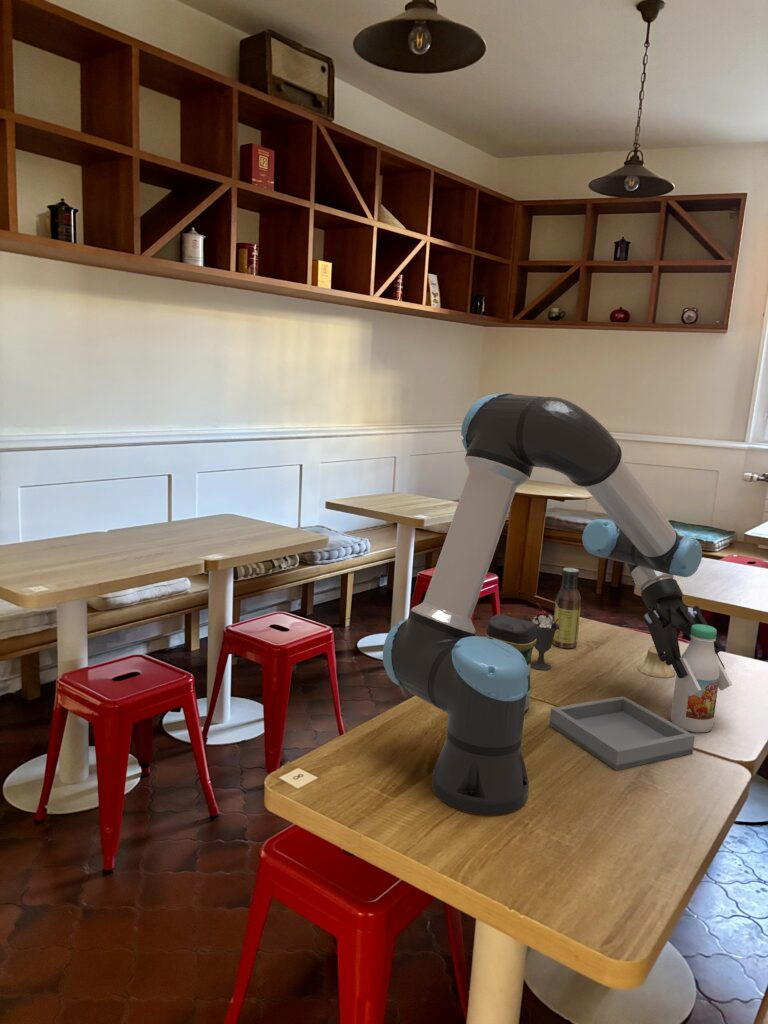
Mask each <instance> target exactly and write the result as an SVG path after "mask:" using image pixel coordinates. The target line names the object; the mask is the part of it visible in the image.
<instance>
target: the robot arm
mask: <svg viewBox="0 0 768 1024" xmlns="http://www.w3.org/2000/svg"><path fill="white" fill-rule="evenodd" d="M460 431H461V433H460V436H462V437H463V439H462V440H461V443H462V446H463V448H464V449H465V451H466V454H465V456H464V462H465V464H466V466H467V468H468V475H467V477H466V480H465V483H464V485H463V488H462V491H461V495H460V496H459V500H458V503H457V506H456V508H455V511H454V514H453V516H452V520H451V523H450V526H449V529H448V531H447V534H446V536H445V539H444V543H443V545H442V548H441V550H440V554H439V556H438V559H437V563H436V566H435V567H434V571H433V574H432V575H431V576H432V577H431V579H430V581H429V584H428V587H427V590H426V593H425V596H424V599H423V601H422V602H421V603H420V604H418V605H415V606H413V607H412V608H411V609H410V612H409V614H408V618H404V619H401V620H400V621H398V622H397V623H396V625H395V626H392V627H391V629H390V630H389V631H388V633H387V635H386V638H385V639H384V644H383V648H382V663H383V667H384V669H385V672H386V675H387V677H388V678H389V679H390V680H391V681H392V683H394V684H395V685H397V686H398V687H400V688H401V689H402V690H403V691H404V692H406V693H407V694H410V695H414V696H416V697H418V698H419V699H421V700H423V702H426V703H428V704H430V705H432V706H434V707H435V708H437V709H439V710H441V711H443V712H445V713H447V716H448V717H447V725H446V726H447V727H446V738H445V741H444V743H443V746H442V749H441V751H440V753H439V756H438V758H437V760H436V763H435V764H434V766H433V769H432V777H431V779H432V780H431V787H432V788H431V789H432V790H433V792H434V794H435V795H436V797H438V799H440V800H441V801H442V802H444V803H445V804H447V805H448V806H449V807H452V808H454V809H456V810H459V811H462V812H465V813H469V814H475V815H480V816H500V815H506V814H509V813H513V812H516V811H517V810H519V809H520V808H522V807H523V806H524V805H526V803H527V800H528V796H529V787H530V783H529V777H528V773H527V768H526V764H525V759H524V756H523V753H522V752H523V751H522V739H523V738H522V737H523V730H524V720H525V712H526V711H525V704H526V695H527V690H528V679H527V673H528V667H527V662H526V660H525V658H524V656H523V655H522V654H521V653H520V652H519V651H518V650H517V649H516V648H514V647H513V646H511V645H509V644H507V643H505V642H503V641H500V640H497V639H489V638H488V637H486V636H480V635H478V636H477V635H476V633H477V631H476V629H475V626H474V624H473V621H472V618H473V614H474V611H475V609H476V606H477V603H478V600H479V598H480V595H481V591H482V589H483V586H484V583H485V580H486V578H487V575H488V571H489V569H490V567H491V563H492V561H493V557H494V556H495V555H494V554H495V551H496V549H497V546H498V543H499V540H500V537H501V534H502V531H503V528H504V526H505V522H506V520H507V517H508V515H509V512H510V510H511V509H510V508H511V505H512V502H513V499H514V496H515V495H516V491H517V489H518V487H520V486H521V485H524V484H526V483H528V482H529V480H530V479H531V476H532V473H533V469H534V467H536V468H543V469H548V470H552V471H555V472H558V473H561V474H562V475H564V476H566V477H567V478H568V479H569V480H570V481H571V483H573V484H574V485H576V486H577V487H580V488H585V489H586V491H587V492H588V493H589V494H590V495H591V496H592V498H593V499H594V500H595V501H596V503H598V505H599V506H600V507H601V509H602V510H604V512H605V513H606V514H607V515H608V516H609V518H610V519H611V520H610V519H605V518H604V519H602V518H597V519H593V520H591V521H589V523H587V525H586V526H585V528H584V529H583V532H582V538H581V539H582V545H583V547H584V549H585V550H586V552H588V553H589V554H590V555H593V556H595V557H597V558H601V559H603V558H604V559H609V560H612V561H617V562H620V563H625V566H626V568H627V569H628V571H629V574H630V575H631V577H632V580H633V582H634V583H635V586H636V587H637V589H638V591H639V592H640V593H641V594H640V595H641V598H642V601H643V602H644V604H645V607H646V608H647V609H648V610H649V611H648V612H647V613H645V614H644V615H643V616H642V620H643V622H644V623H645V625H646V626H647V628H648V631H649V634H650V637H651V640H652V642H653V646H655V648H656V651H657V653H658V656H659V659H660V660H661V661H662V662H664V661H666V662H665V663H666V664H667V665H668V666H669V665H670V666H671V667H672V669H673V670H674V672H675V675H676V674H677V676H678V677H679V679H681V681H682V683H683V685H684V687H685V689H686V691H687V693H688V695H689V696H692V695H694V694H696V693H697V692H699V691H701V688H700V686H699V684H698V682H697V680H696V678H695V676H694V674H693V672H692V670H691V668H690V666H689V664H688V662H687V660H686V658H682V659H681V660H680V658H681V656H682V654H681V650H680V649H681V648H680V645H679V644H680V643H679V638H678V632H677V629H679V631H680V632H681V633H684V634H685V635H686V636H687V637H688V639H689V640H691V637H690V635H691V627H692V625H695V624H702V625H708V626H710V625H709V623H708V622H707V621H706V619H705V617H704V616H703V613H702V611H701V609H700V607H699V606H698V605H694V606H693V607H691V606H690V607H688V605H687V604H686V603H685V602H684V601H683V595H684V593H683V591H682V589H681V587H680V586H679V583H678V581H677V580H676V579H675V578H674V576H677V577H682V578H688V577H691V576H693V575H694V574H696V572H697V570H698V569H699V566H700V565H701V562H702V558H703V548H702V545H701V543H700V542H699V540H697V539H695V538H691V537H689V536H687V535H684V536H683V535H681V534H679V533H678V532H677V531H676V530H675V528H674V527H673V526H672V524H671V522H670V521H669V520H668V519H667V517H666V516H665V515H664V513H663V512H662V510H661V509H660V507H658V505H657V504H656V502H655V501H654V500H653V498H652V497H651V496H650V494H648V492H647V491H646V489H645V488H644V487H643V486H642V484H641V483H640V481H639V480H638V479H637V478H636V476H635V475H634V474H633V472H632V470H631V469H630V468H629V467H628V466H627V464H626V463H625V461H624V460H623V450H622V448H621V446H620V444H619V443H618V442H617V440H616V439H615V438H614V436H612V434H611V433H610V432H609V430H607V429H606V427H605V426H604V425H603V424H601V422H599V421H598V420H597V419H596V418H595V417H594V416H593V415H591V414H590V413H589V412H587V411H586V410H585V409H583V408H581V406H579V405H577V404H575V403H573V402H571V401H569V400H567V399H564V398H562V397H557V396H539V395H538V396H537V395H525V394H513V393H511V392H510V393H507V392H504V393H503V392H502V393H497V394H496V393H495V394H493V393H492V394H488V395H487V394H486V395H485V396H483V397H481V398H479V399H477V400H476V401H475V402H474V403H473V404H472V405H470V408H469V409H468V410H467V412H466V414H465V416H464V417H463V421H462V423H461V430H460ZM714 650H715V654H716V657H717V660H718V663H719V684H718V690H719V691H724V690H725V689H727V688H729V687H731V686H732V685H733V682H732V681H731V679H730V677H729V676H728V673H727V671H726V670H725V669H726V668H725V665H724V663H723V662H722V660H721V658H720V656H719V653H720V652H721V651H722V650H724V647H723V645H722V643H721V642H720V639H718V637H717V636H716V641H714ZM664 652H665V653H664Z"/></svg>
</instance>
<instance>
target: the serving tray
mask: <svg viewBox="0 0 768 1024" xmlns="http://www.w3.org/2000/svg"><path fill="white" fill-rule="evenodd" d="M549 726H550V728H551V727H552V728H553V729H555V730H556V731H557V732H558V733H560V734H561V735H563V736H564V737H566V738H567V739H569V740H570V741H572V742H573V743H574V744H576V745H577V746H579V747H581V748H582V749H584V750H585V752H586V751H587V752H588V753H589V754H591V755H592V756H593V757H595V758H596V759H598V760H599V761H601V762H602V763H604V764H606V765H607V766H608V767H609V768H611V769H612V770H614V771H615V772H616V771H617V772H618V771H620V770H625V769H631V768H635V767H639V766H644V765H648V764H652V763H657V762H661V761H666V760H670V759H675V758H680V757H683V756H688V755H693V754H694V753H693V752H694V746H695V745H694V744H695V738H696V735H695V734H693V733H691V732H690V731H687V730H684V729H682V728H680V727H678V726H677V725H675V724H673V723H672V721H669V719H666V718H664V717H662V716H660V715H659V714H657V713H655V712H653V711H651V710H650V709H648V708H645V707H644V706H642V705H640V704H639V703H637V702H636V701H633V700H632V699H630V698H628V697H626V696H624V695H622V696H616V697H609V698H604V699H597V700H592V701H586V702H580V703H573V704H569V705H568V704H567V705H563V706H555V707H551V708H550V718H549Z"/></svg>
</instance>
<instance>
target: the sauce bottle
mask: <svg viewBox="0 0 768 1024" xmlns="http://www.w3.org/2000/svg"><path fill="white" fill-rule="evenodd" d="M561 574H562V579H561V586H560V588H559V589H558V593H557V594H556V596H555V601H554V614H553V622H555V621H556V620H557V619H558V621H557V622H556V623H557V624H558V625H559V628H560V629H558V630H556V631H555V634H554V638H553V643H552V645H554V646H555V647H558V648H561V649H565V648H566V649H567V650H568V649H574V648H576V647H577V644H578V642H577V641H578V640H579V629H580V619H581V617H580V616H581V602H582V597H581V596H582V595H581V594H580V591H579V589H578V579H579V576H580V570H579V569H577V568H574V567H564V568H562V572H561ZM566 649H565V650H566Z"/></svg>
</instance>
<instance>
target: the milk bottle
mask: <svg viewBox="0 0 768 1024" xmlns="http://www.w3.org/2000/svg"><path fill="white" fill-rule="evenodd" d="M708 625H709V624H708ZM708 625H702V624H695V625H692V627H691V635H690V637H691V639H690V642H689V643H688V646H687V647H686V649H685V650H684V652H683V653H682V654H681V658H680V660H681V659H682V658H686V660H687V662H688V664H689V666H690V668H691V670H692V672H693V674H694V676H695V678H696V680H697V682H698V684H699V686H700V688H701V691H699V692H697V693H696V694H694V695H692V696H689V695H688V693H687V691H686V689H685V687H684V685H683V683H682V681H681V679H679V677H678V676H677V674H676V673H675V681H674V688H673V695H672V703H671V711H670V722H671V723H673V724H675V725H677V726H678V727H680V728H682V729H684V730H686V731H688V732H690V733H691V732H692V733H698V734H700V733H708V732H710V731H711V730H712V728H713V725H714V721H715V720H714V719H715V712H716V706H717V705H716V704H717V697H718V691H719V688H718V684H719V663H718V660H717V657H716V654H715V650H714V641H716V637H717V634H718V631H717V629H716V628H715V627H714V626H711V625H709V626H708Z"/></svg>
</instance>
